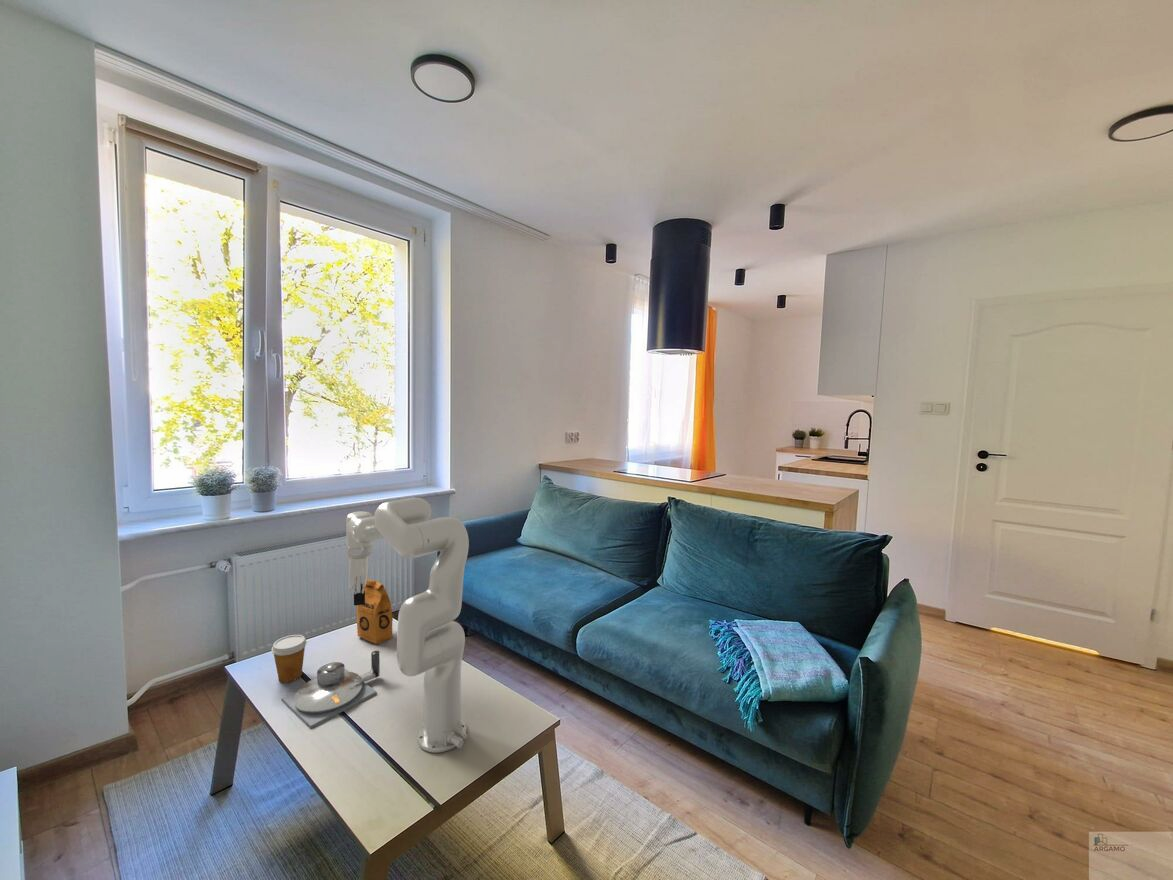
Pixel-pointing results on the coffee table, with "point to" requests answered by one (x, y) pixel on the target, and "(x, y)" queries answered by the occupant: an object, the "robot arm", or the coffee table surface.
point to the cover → (330, 674)
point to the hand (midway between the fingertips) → (359, 603)
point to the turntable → (334, 690)
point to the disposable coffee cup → (289, 657)
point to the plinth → (318, 718)
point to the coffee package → (375, 614)
